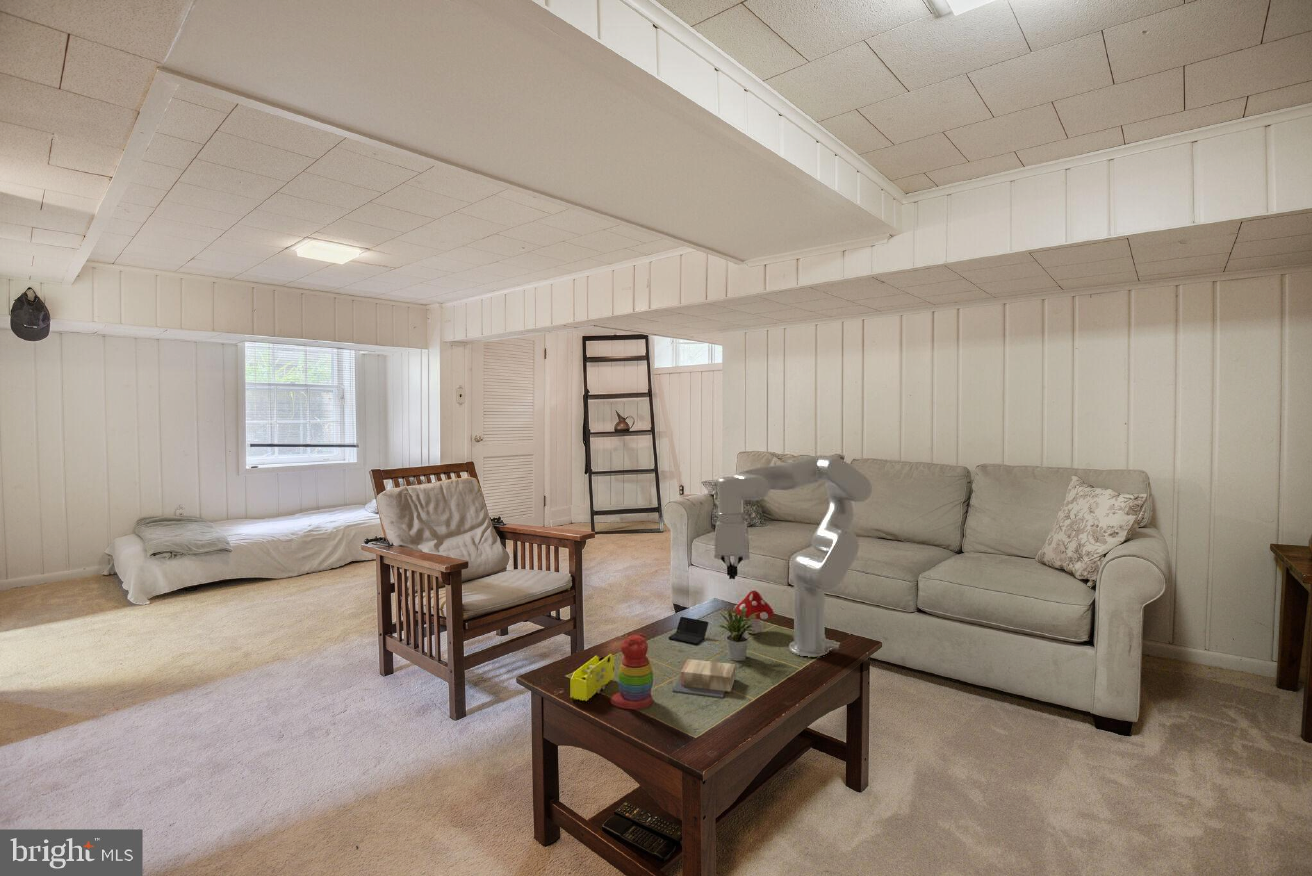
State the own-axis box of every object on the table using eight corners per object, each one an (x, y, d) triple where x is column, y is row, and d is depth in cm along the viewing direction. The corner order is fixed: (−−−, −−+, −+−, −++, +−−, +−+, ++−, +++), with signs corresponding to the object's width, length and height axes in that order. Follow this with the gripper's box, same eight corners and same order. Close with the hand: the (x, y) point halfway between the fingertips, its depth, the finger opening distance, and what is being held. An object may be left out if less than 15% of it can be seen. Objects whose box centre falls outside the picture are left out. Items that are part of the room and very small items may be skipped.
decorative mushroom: (781, 638, 209) (781, 594, 208) (743, 642, 205) (744, 598, 205) (763, 624, 223) (763, 583, 222) (727, 627, 219) (728, 586, 218)
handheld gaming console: (666, 637, 206) (676, 609, 211) (670, 643, 212) (679, 616, 217) (698, 646, 202) (707, 618, 207) (702, 653, 208) (710, 625, 212)
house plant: (760, 670, 183) (760, 616, 182) (714, 666, 186) (714, 613, 185) (761, 652, 197) (762, 602, 196) (718, 648, 200) (719, 599, 199)
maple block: (735, 664, 177) (687, 658, 181) (730, 677, 168) (680, 671, 172) (735, 677, 177) (687, 672, 181) (730, 691, 169) (680, 685, 172)
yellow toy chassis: (587, 704, 162) (587, 673, 162) (569, 700, 165) (569, 670, 164) (615, 680, 177) (615, 651, 177) (598, 676, 179) (598, 648, 179)
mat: (731, 673, 181) (731, 672, 181) (722, 698, 166) (722, 696, 166) (685, 668, 185) (685, 666, 185) (672, 691, 169) (672, 690, 169)
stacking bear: (633, 688, 171) (633, 626, 171) (661, 699, 165) (662, 634, 164) (606, 702, 163) (606, 637, 162) (635, 714, 157) (635, 646, 156)
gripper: (756, 516, 186) (758, 575, 187) (708, 515, 190) (709, 573, 191) (755, 520, 179) (756, 582, 180) (704, 520, 182) (706, 580, 183)
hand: (732, 577), depth 185 cm, fingers closed
